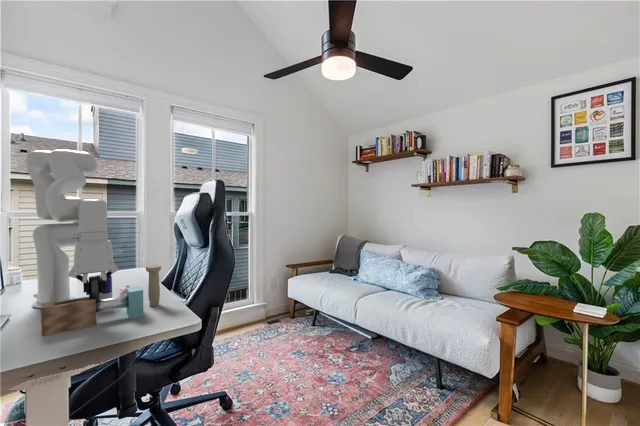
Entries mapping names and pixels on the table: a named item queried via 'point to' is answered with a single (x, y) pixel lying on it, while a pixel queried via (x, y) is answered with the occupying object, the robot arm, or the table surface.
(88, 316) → the wood grain block
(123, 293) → the rabbit figure
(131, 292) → the socket
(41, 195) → the robot arm
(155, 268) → the handle
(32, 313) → the table surface
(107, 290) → the energy drink
